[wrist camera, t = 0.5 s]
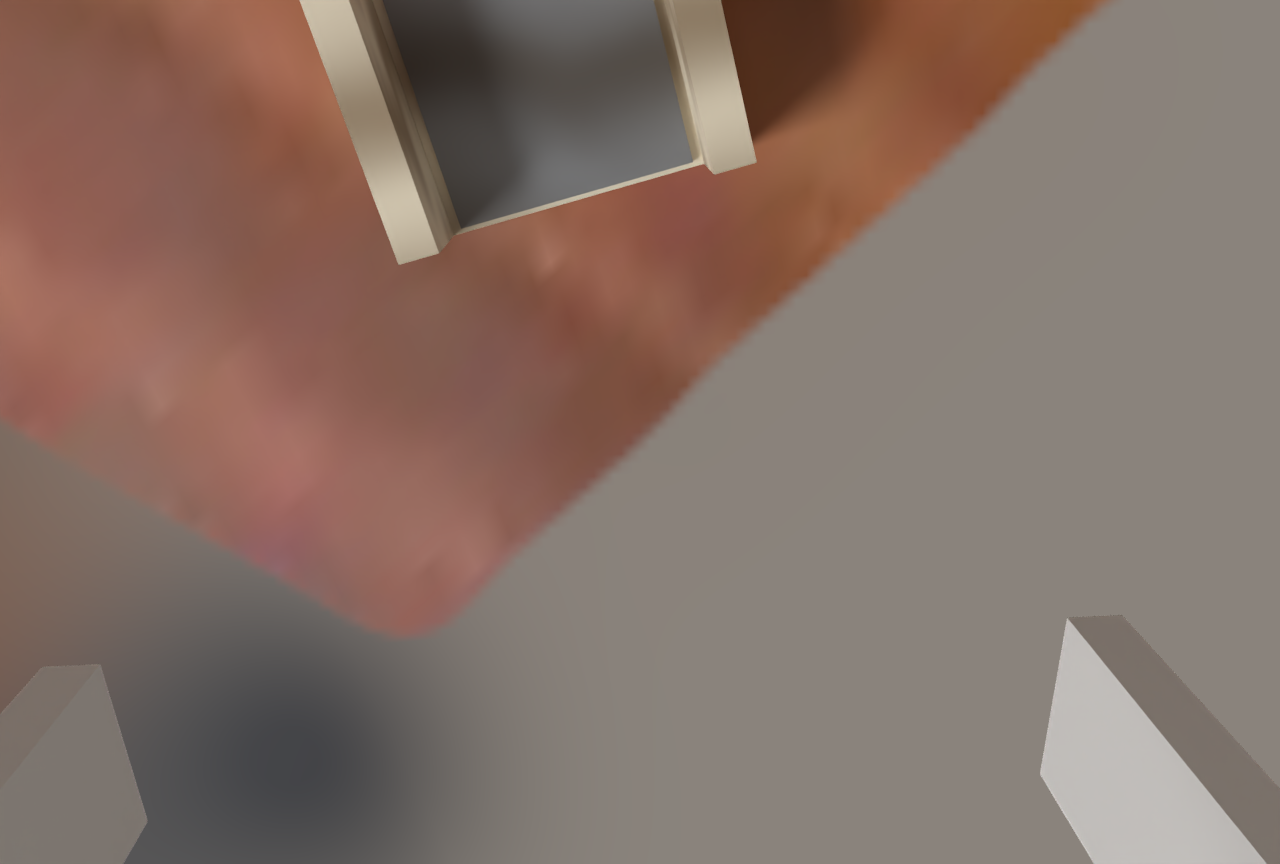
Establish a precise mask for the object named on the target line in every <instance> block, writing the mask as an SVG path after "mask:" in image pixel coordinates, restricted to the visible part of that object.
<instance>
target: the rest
mask: <svg viewBox="0 0 1280 864" xmlns="http://www.w3.org/2000/svg"><path fill="white" fill-rule="evenodd" d="M300 3H301V5H302V8H303V11H304V13H305V16H306V19H307V21H308V24H309V27H310V29H311V32H312V35H313V37H314V40H315V43H316V45H317V48H318V51H319V53H320V56H321V59H322V61H323V64H324V67H325V69H326V72H327V75H328V77H329V80H330V83H331V85H332V88H333V91H334V93H335V96H336V99H337V101H338V104H339V107H340V109H341V112H342V115H343V118H344V120H345V123H346V126H347V128H348V131H349V134H350V136H351V139H352V142H353V144H354V147H355V150H356V152H357V155H358V158H359V160H360V163H361V166H362V168H363V171H364V174H365V176H366V179H367V182H368V184H369V187H370V190H371V192H372V195H373V198H374V200H375V203H376V206H377V208H378V211H379V214H380V216H381V219H382V222H383V224H384V227H385V230H386V232H387V235H388V238H389V240H390V243H391V246H392V248H393V251H394V254H395V256H396V259H397V262H398V264H399V265H400V264H403V263H407V262H410V261H414V260H417V259H421V258H424V257H428V256H431V255H435V254H438V253H440V251H441V250H442V249H443V248H444V247H445V246H446V244H447V243H448V242H449V241H450V240H451V238H452V237H453V236H454V235H457V234H461V233H464V232H468V231H471V230H475V229H478V228H482V227H485V226H489V225H492V224H496V223H499V222H502V221H506V220H509V219H513V218H516V217H520V216H523V215H527V214H530V213H534V212H537V211H541V210H544V209H548V208H551V207H555V206H558V205H562V204H565V203H569V202H572V201H576V200H579V199H583V198H586V197H590V196H593V195H597V194H600V193H604V192H607V191H611V190H614V189H618V188H621V187H624V186H628V185H631V184H635V183H638V182H642V181H645V180H649V179H652V178H656V177H659V176H663V175H666V174H670V173H673V172H677V171H680V170H684V169H687V168H691V167H694V166H698V165H701V164H705V165H706V166H707V167H708V168H709V170H710V171H711V172H712V173H713V174H718V173H721V172H725V171H728V170H732V169H735V168H739V167H742V166H746V165H749V164H753V163H756V158H755V153H754V148H753V144H752V139H751V135H750V130H749V126H748V121H747V117H746V112H745V108H744V103H743V98H742V94H741V89H740V85H739V80H738V76H737V71H736V67H735V62H734V58H733V53H732V48H731V44H730V39H729V35H728V30H727V26H726V21H725V17H724V12H723V8H722V3H721V0H300Z"/></svg>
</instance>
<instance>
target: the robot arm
mask: <svg viewBox="0 0 1280 864" xmlns="http://www.w3.org/2000/svg"><path fill="white" fill-rule="evenodd" d="M1040 775H1041V776H1042V778H1043V780H1044V782H1045V783H1046V785H1047V787H1048V788H1049V790H1050V792H1051V793H1052V795H1053V796H1054V798H1055V800H1056V802H1057V803H1058V805H1059V806H1060V808H1061V810H1062V812H1063V813H1064V815H1065V816H1066V818H1067V820H1068V822H1069V823H1070V825H1071V826H1072V828H1073V830H1074V831H1075V833H1076V835H1077V837H1078V838H1079V840H1080V842H1081V843H1082V845H1083V846H1084V848H1085V850H1086V851H1087V853H1088V855H1089V856H1090V858H1091V860H1092V861H1093V863H1094V864H1280V788H1279V787H1278V786H1277V785H1276V784H1275V783H1274V781H1273V780H1272V779H1271V778H1270V777H1269V776H1268V775H1267V774H1266V773H1265V772H1264V771H1263V769H1262V768H1260V766H1259V765H1258V764H1257V763H1256V762H1255V761H1254V760H1253V759H1252V757H1251V756H1250V755H1249V754H1248V753H1247V752H1246V751H1245V750H1244V748H1243V747H1242V746H1241V745H1240V744H1239V743H1238V742H1237V741H1236V740H1235V739H1234V738H1233V736H1232V735H1231V734H1230V733H1229V732H1228V731H1227V730H1226V729H1225V728H1224V727H1223V725H1222V724H1221V723H1220V722H1219V721H1218V720H1217V719H1216V718H1215V717H1214V716H1213V715H1212V713H1211V712H1210V711H1209V710H1208V709H1207V708H1206V707H1205V706H1204V705H1203V703H1202V702H1201V701H1200V700H1199V699H1198V698H1197V697H1196V696H1195V695H1194V694H1193V692H1191V690H1190V689H1189V688H1188V687H1187V686H1186V685H1185V684H1184V683H1183V682H1182V680H1181V679H1180V678H1179V677H1178V676H1177V675H1176V674H1175V673H1174V672H1173V671H1172V669H1171V668H1170V667H1169V666H1168V665H1167V664H1166V663H1165V662H1164V661H1163V660H1162V658H1161V657H1160V656H1159V655H1158V654H1157V653H1156V652H1155V651H1154V650H1153V649H1152V648H1151V646H1150V645H1149V644H1148V643H1147V642H1146V641H1145V640H1144V639H1143V638H1142V636H1140V634H1139V633H1138V632H1137V631H1136V630H1135V629H1134V628H1133V627H1132V626H1131V624H1130V623H1129V622H1128V621H1127V620H1126V619H1125V618H1124V617H1123V616H1122V615H1115V616H1114V615H1113V616H1093V617H1072V618H1067V622H1066V628H1065V634H1064V639H1063V646H1062V651H1061V657H1060V662H1059V668H1058V674H1057V679H1056V685H1055V691H1054V697H1053V702H1052V708H1051V714H1050V719H1049V726H1048V731H1047V737H1046V742H1045V748H1044V754H1043V760H1042V766H1041V771H1040ZM146 823H147V817H146V814H145V811H144V807H143V804H142V801H141V798H140V794H139V791H138V788H137V784H136V781H135V778H134V774H133V771H132V768H131V765H130V761H129V758H128V755H127V751H126V748H125V745H124V742H123V738H122V735H121V732H120V728H119V725H118V722H117V718H116V716H115V712H114V708H113V705H112V702H111V699H110V695H109V692H108V689H107V685H106V682H105V679H104V675H103V672H102V669H101V666H100V664H97V665H77V666H54V667H42V668H41V669H40V670H39V671H38V672H37V673H36V674H35V676H34V677H33V678H32V679H31V680H30V681H29V682H28V683H27V685H26V686H25V687H24V688H23V689H22V690H21V692H19V694H18V695H17V696H16V697H15V698H14V699H13V700H12V702H11V703H10V704H9V705H8V706H7V707H6V708H5V709H4V711H3V712H2V713H1V714H0V864H123V863H124V861H125V860H126V858H127V856H128V854H129V853H130V851H131V849H132V848H133V846H134V844H135V842H136V841H137V839H138V837H139V835H140V834H141V832H142V830H143V828H144V827H145V825H146Z"/></svg>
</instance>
